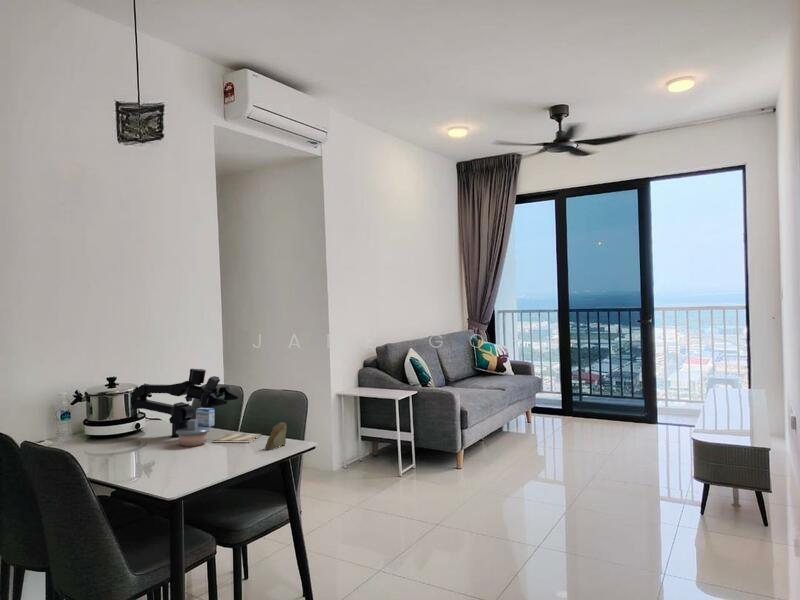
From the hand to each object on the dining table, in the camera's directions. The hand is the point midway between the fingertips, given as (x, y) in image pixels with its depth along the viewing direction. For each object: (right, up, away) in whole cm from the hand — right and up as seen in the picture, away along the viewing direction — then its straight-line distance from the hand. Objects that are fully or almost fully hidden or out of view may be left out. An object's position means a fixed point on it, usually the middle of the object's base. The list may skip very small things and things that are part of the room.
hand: (232, 400), depth 237 cm
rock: (+23, -15, -20) cm, 35 cm away
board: (+4, -16, -5) cm, 17 cm away
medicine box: (-23, -18, +29) cm, 41 cm away
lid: (-12, -11, -14) cm, 21 cm away
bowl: (-12, -16, -14) cm, 25 cm away
